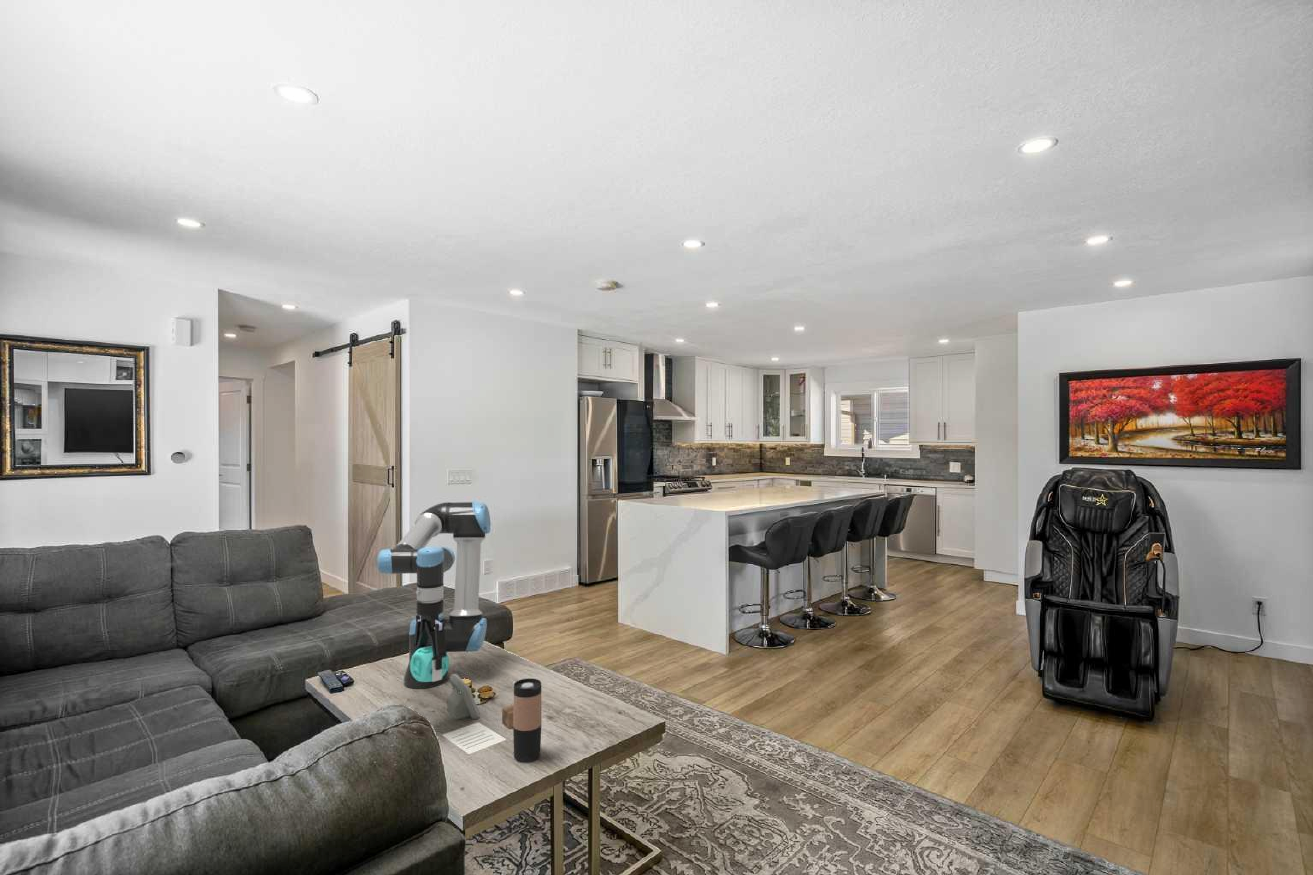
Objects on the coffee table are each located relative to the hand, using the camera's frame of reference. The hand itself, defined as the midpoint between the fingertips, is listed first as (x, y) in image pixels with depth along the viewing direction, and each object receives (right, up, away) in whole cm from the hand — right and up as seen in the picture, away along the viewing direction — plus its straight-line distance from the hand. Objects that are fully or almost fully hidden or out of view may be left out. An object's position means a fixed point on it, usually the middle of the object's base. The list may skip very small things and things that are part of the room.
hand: (429, 675), depth 183 cm
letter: (+14, -17, -3) cm, 22 cm away
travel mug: (+32, -17, -13) cm, 39 cm away
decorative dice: (0, -1, 0) cm, 1 cm away
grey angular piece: (+6, -18, +14) cm, 23 cm away
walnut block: (+24, -17, +6) cm, 30 cm away
